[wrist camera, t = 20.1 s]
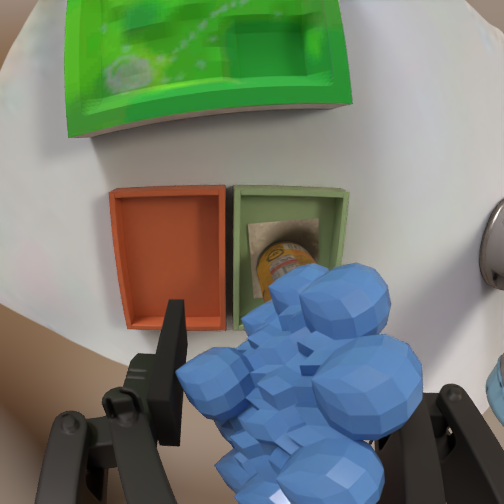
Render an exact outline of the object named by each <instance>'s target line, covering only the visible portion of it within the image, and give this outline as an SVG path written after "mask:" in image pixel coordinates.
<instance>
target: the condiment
mask: <svg viewBox="0 0 504 504" xmlns="http://www.w3.org/2000/svg"><path fill="white" fill-rule="evenodd" d="M248 232H249V245H250V258H251V271H252V284H253V296H254V299H255V298H263V300H264V303H265V302H267V301H270V300H272V298H271V295H270V291H269V288H268V286H270V285H271V284H272V283H273V282H275V281H276V280H277V279H278V278H280V277H281V276H283V275H285V274H286V273H288V272H290V271H291V270H293V269H295V268H297V267H298V266H302V265H307V264H312V263H315V264H318V252H319V247H318V243H319V240H318V237H319V235H318V233H319V218H315V219H299V220H286V221H274V222H263V223H254V224H248Z"/></svg>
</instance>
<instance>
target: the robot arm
mask: <svg viewBox="0 0 504 504" xmlns="http://www.w3.org/2000/svg"><path fill="white" fill-rule="evenodd" d="M480 269H481V273H482V276H483V278H484V280H485V281H486V282H487V283H489V284H490V285H491V286H493V287H495V288H497V289H500V290H504V199H503V200H502V201H501V202H500V203H499V204H498V205H497V206H496V208H495V209H494V211H493V213H492V214H491V216H490V218H489V220H488V223H487V225H486V228H485V231H484V234H483V238H482V242H481V248H480ZM187 345H188V343H187V331H186V318H185V304H184V299H169V300H168V304H167V308H166V312H165V316H164V320H163V325H162V329H161V333H160V337H159V342H158V346H157V350H156V354H141V353H138V354H137V355H136V356H135V357H134V358H133V359H132V360H131V362H130V365H129V368H128V372H127V375H126V379H125V382H124V385H123V387H117V388H113V389H111V390H109V391H108V392H106V393H105V395H104V397H103V398H102V405H103V408H104V410H105V413H106V416H103V417H99V418H91V419H85V417H84V415H82V414H81V413H79V412H76V411H66V412H63V413H61V414H59V415H58V416H57V417H56V418H55V420H54V422H53V425H52V428H51V432H50V436H49V439H48V443H47V447H46V451H45V455H44V459H43V464H42V468H41V473H40V478H39V482H38V487H37V493H36V499H35V504H106V501H107V482H108V469H109V468H114V467H118V471H119V475H120V479H121V483H122V487H123V491H124V494H125V498H126V501H127V504H177V502H176V499H175V496H174V494H173V491H172V489H171V487H170V484H169V481H168V479H167V476H166V473H165V471H164V468H163V465H162V462H161V459H160V456H159V453H158V451H157V441H159V444H160V445H162V446H180V435H181V418H182V403H183V388H182V386H181V384H180V382H179V380H178V378H177V376H176V374H175V371H176V370H177V369H179V368H180V367H182V366H183V365H184V364H186V356H187ZM486 394H487V399H488V402H489V405H490V407H491V409H492V410H493V412H494V414H495V416H496V417H497V419H498V420H499V422H500V423H501V424H502V425H503V426H504V353H503V355H501V356H500V357H499V359H498V363H497V364H496V366H495V367H494V369H493V370H492V372H491V374H490V375H489V377H488V379H487V382H486ZM449 428H451V430H452V432H453V433H452V434H451V433H450V432H449V431H448V429H449ZM373 441H374V440H370V441H369V444H370V445H371V444H372V442H373ZM375 452H376V454H377V455H378V457H379V458H380V460H381V462H382V465H383V468H384V478H385V483H384V486H383V490H382V493H381V496H380V499H379V501H378V502H377V503H376V504H446V503H447V504H504V450H503V449H502V447H501V445H500V444H499V442H498V440H497V439H496V437H495V435H494V434H493V432H492V431H491V429H490V427H489V426H488V424H487V423H486V421H485V420H484V418H483V416H482V415H481V413H480V412H479V410H478V409H477V407H476V406H475V404H474V403H473V401H472V400H471V398H470V397H469V395H468V394H467V393H466V391H465V390H464V389H463V388H462V387H460V386H458V385H456V384H446V385H444V386H443V387H442V388H441V390H440V392H439V393H423V394H422V400H421V402H420V403H419V405H418V406H417V408H416V409H415V411H414V412H413V413H412V415H411V416H410V418H409V419H408V420H407V422H406V423H405V424H404V425H403V426H402V428H400V429H398V430H396V431H394V432H392V433H391V434H389V435H387V436H385V437H383V438H381V439H379V440H375Z"/></svg>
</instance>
